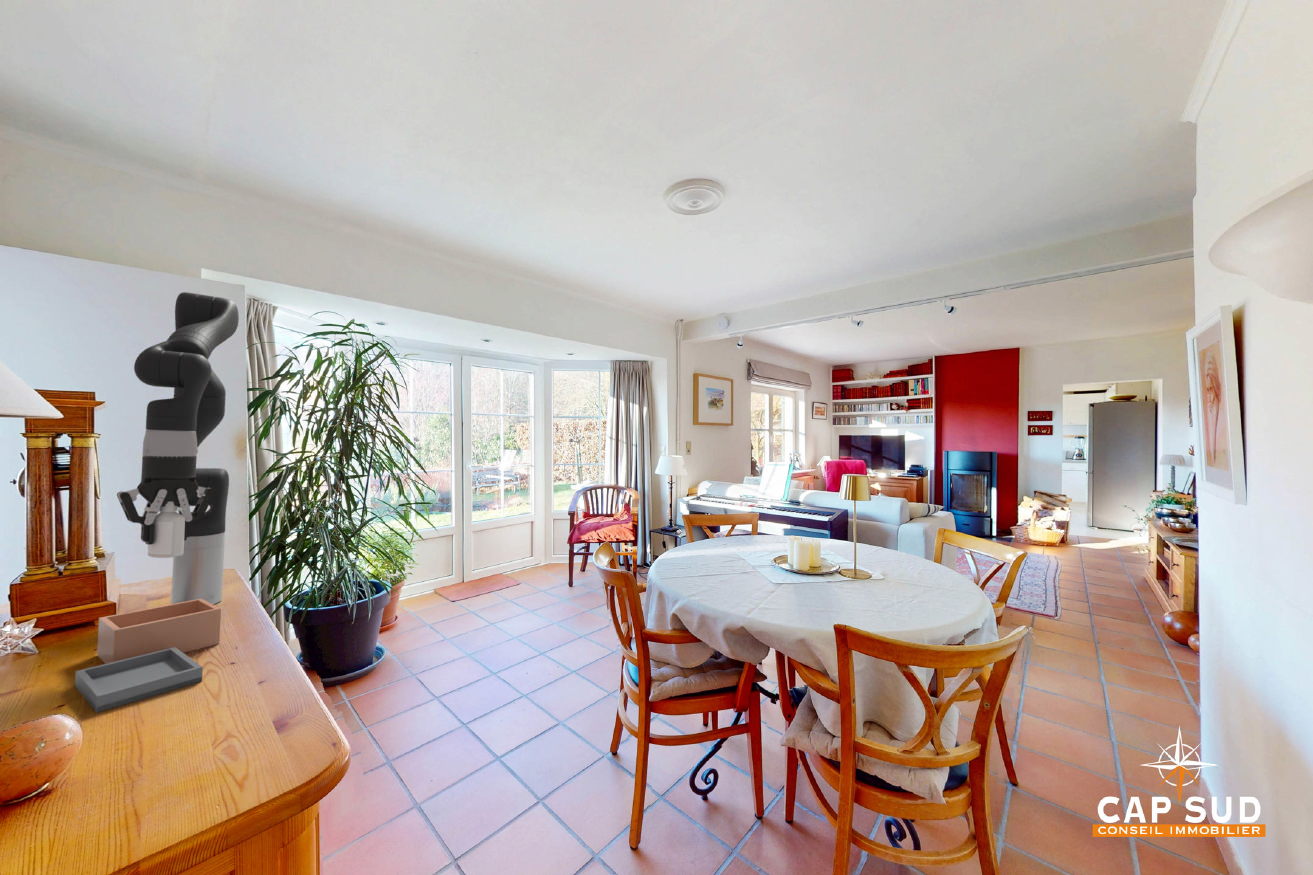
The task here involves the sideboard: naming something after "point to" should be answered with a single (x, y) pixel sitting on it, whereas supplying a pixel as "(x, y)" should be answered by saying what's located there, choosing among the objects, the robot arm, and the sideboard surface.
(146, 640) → the open clay trough
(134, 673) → the charcoal tray
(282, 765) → the sideboard surface
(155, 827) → the sideboard surface
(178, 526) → the eye dropper bottle
